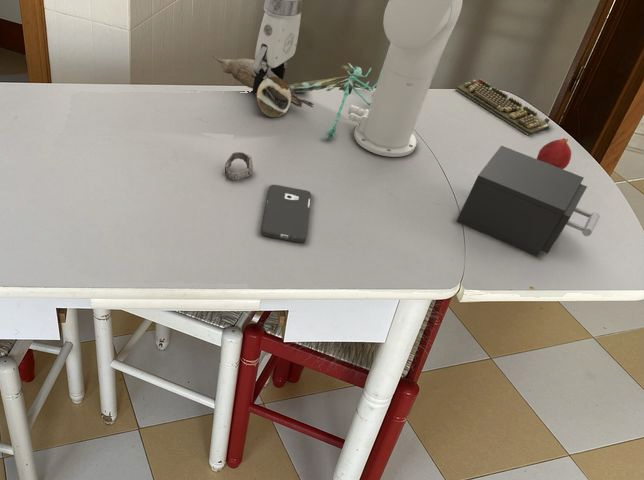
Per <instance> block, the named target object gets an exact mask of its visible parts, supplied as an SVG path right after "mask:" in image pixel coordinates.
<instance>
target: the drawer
mask: <svg viewBox="0 0 644 480" xmlns="http://www.w3.org/2000/svg"><path fill="white" fill-rule="evenodd" d="M587 189H588V186H587V185H585V184H582V183H581V184H580V186H579V187H578V189H577V191H576V193H575V195H574V196H573V198H572V200H571V202H570V203H569V205H568V207H567V209H566V211H565V212H564V214H563V216H562V217H561V219H560V220H559V222H558V224H557V225H556V227H555V229H554V230H553V232H552V233H551V235H550V237H549V238H548V240H547V242H546V243H545V245H544V247H543V248H542V250H541V251H540V252H542V253H544V254H547V255H548V254H549V253H550V251H551V249H552V248H553V246H554V244H555V243H556V241H557V240H558V239H559V236H560V235H561V234H562V232H563V230H564V228H565V227H566V226H568V227H570V228H573V229H576V230H578V231H580V232H581V234H582V235H583V236H585V237H589V236H591V235H592V233H593V232H594V229H595V227H596V226H597V223H598V221H599V219H600V217H601V216H600V214H599V212H592V213H591V212H589V211H586V210H584V209H582V208H579V207H578V204H579V202H581V199H582V197H583V195H584V194H585V192H586V190H587ZM574 212H575V213H577V214H578V215H580V216H581V215H582V216H583V217H587V218H588V219H587V222H586V223H585V225H584V226H583V225H580V224H578V223H576V222H573V221H571V220H570V219H571V217H572V216H573V213H574Z"/></svg>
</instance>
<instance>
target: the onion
mask: <svg viewBox="0 0 644 480" xmlns="http://www.w3.org/2000/svg"><path fill="white" fill-rule="evenodd" d="M568 141H569V138H567V137H563V138H560V139H555V140H554V139H553V140H552V141H549V142H548V143H546V144H544V146H542V147H541V148H540V149H539V150H538V154H537V157H536V159H537V160H540V161H543V162H545V163H548V164H550V165H553V166H555V167H558V168H561V169H563V170H565V169H566V168H567V167H568V165H569V164H570V161H571V159H572V149H571V147H570V146H569V144H568Z"/></svg>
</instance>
